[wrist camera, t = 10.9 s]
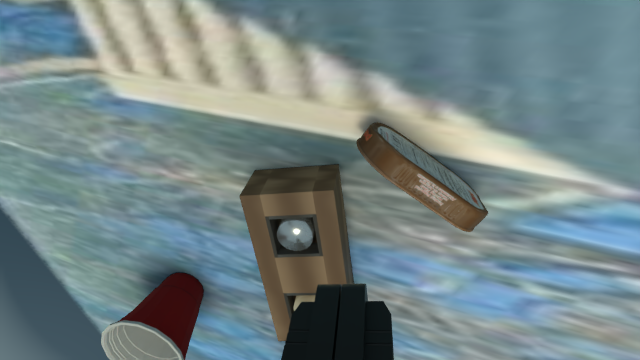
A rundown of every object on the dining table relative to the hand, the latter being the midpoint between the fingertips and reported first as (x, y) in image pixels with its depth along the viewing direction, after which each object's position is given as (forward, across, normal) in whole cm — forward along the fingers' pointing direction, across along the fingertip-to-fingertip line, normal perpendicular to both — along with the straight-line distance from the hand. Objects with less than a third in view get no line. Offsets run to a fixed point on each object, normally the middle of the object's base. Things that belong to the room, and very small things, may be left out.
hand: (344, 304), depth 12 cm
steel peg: (+31, +9, +15) cm, 36 cm away
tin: (+31, -5, +10) cm, 33 cm away
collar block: (+31, +9, +21) cm, 38 cm away
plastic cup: (+31, +29, +28) cm, 51 cm away
